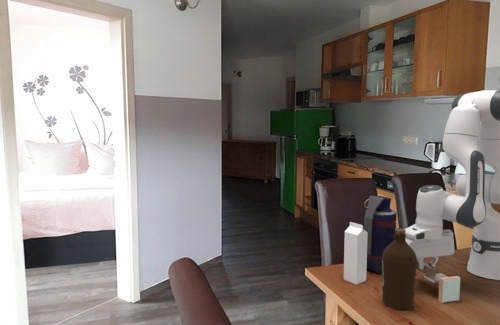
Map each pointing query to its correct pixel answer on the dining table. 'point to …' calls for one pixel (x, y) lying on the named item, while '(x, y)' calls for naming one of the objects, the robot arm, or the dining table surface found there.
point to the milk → (355, 254)
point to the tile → (449, 289)
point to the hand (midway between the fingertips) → (426, 268)
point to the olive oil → (399, 273)
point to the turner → (430, 273)
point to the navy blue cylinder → (378, 229)
